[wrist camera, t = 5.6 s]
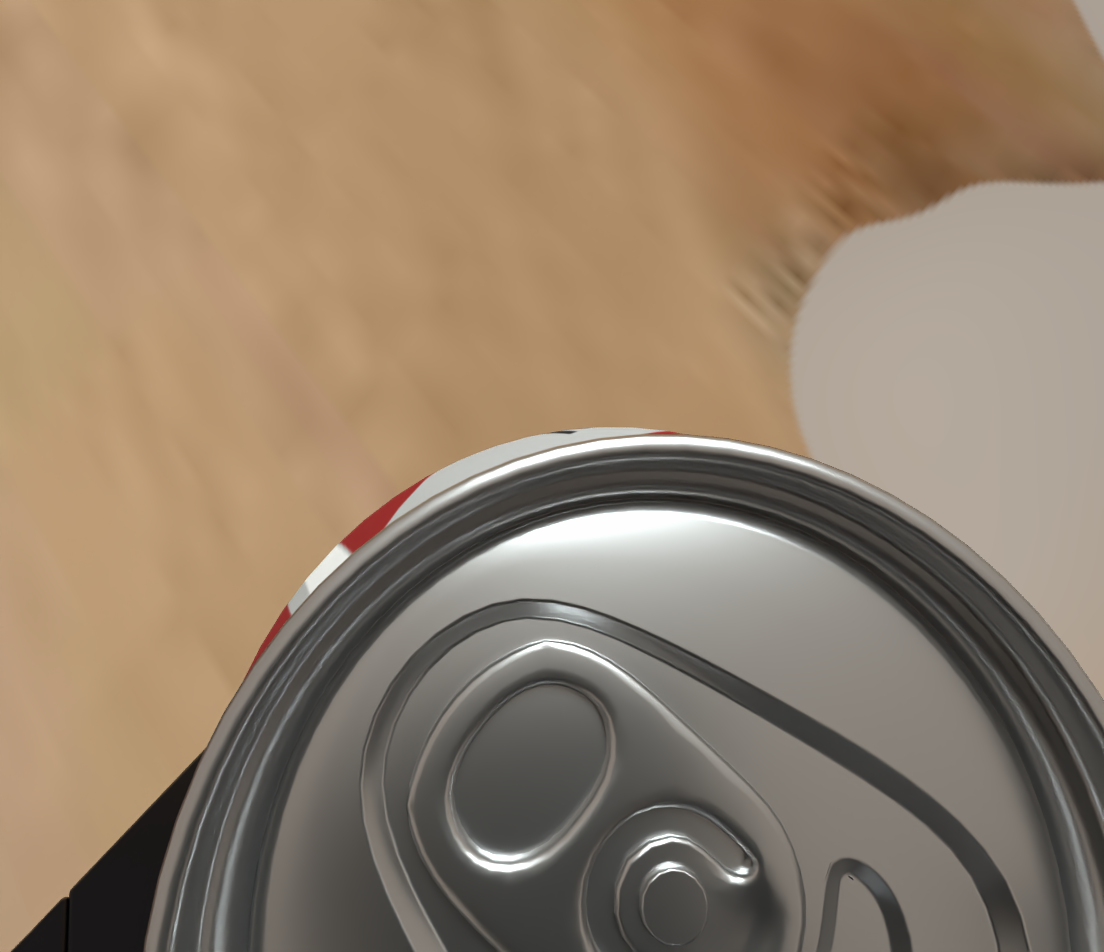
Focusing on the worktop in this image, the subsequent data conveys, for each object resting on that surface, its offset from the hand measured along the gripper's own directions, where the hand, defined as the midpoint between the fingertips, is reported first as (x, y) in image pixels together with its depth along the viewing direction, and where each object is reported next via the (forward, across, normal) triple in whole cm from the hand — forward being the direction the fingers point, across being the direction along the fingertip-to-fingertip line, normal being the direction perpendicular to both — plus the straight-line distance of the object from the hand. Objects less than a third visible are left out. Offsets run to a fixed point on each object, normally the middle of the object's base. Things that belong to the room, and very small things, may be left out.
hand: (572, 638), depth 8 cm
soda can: (+4, 0, +6) cm, 7 cm away
